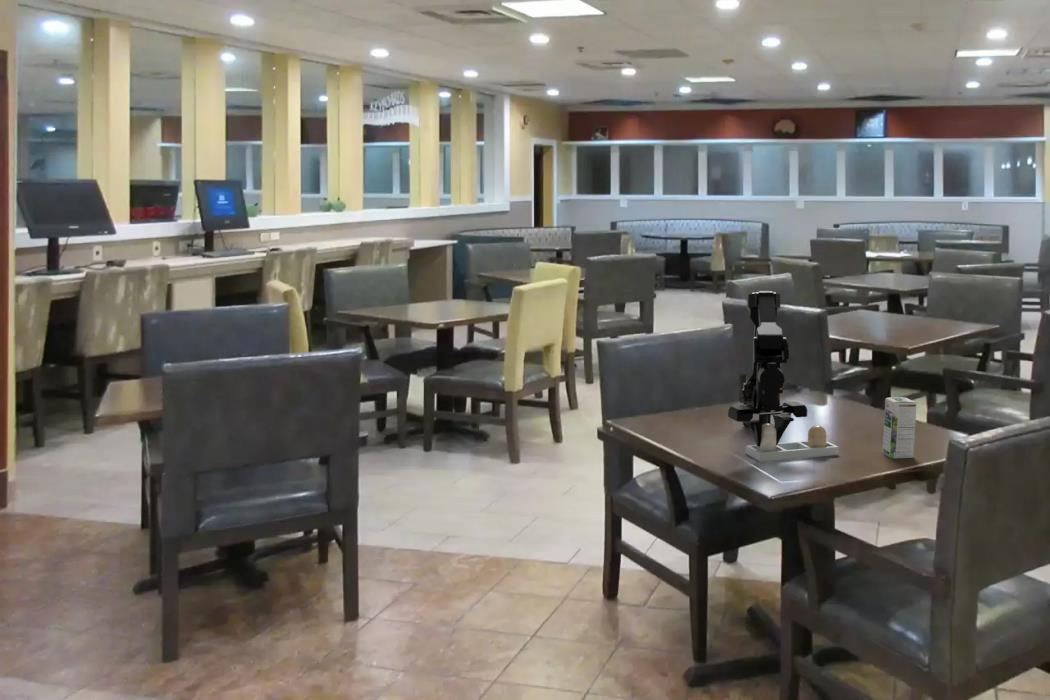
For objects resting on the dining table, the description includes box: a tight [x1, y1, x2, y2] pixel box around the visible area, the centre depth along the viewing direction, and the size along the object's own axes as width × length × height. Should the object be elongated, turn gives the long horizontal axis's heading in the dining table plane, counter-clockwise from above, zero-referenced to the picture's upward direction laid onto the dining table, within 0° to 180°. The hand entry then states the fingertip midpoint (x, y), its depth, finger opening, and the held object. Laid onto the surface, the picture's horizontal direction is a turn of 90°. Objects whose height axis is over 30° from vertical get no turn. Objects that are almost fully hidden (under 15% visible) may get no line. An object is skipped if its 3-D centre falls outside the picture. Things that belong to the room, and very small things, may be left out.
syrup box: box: [882, 396, 918, 459], centre depth 255 cm, size 6×6×14 cm
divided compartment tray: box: [745, 440, 840, 462], centre depth 258 cm, size 21×8×2 cm, turn 104°
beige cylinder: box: [807, 424, 827, 448], centre depth 259 cm, size 4×4×7 cm
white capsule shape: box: [758, 423, 776, 452], centre depth 256 cm, size 4×4×7 cm
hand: (766, 445), depth 256 cm, fingers closed on white capsule shape, 4 cm apart
